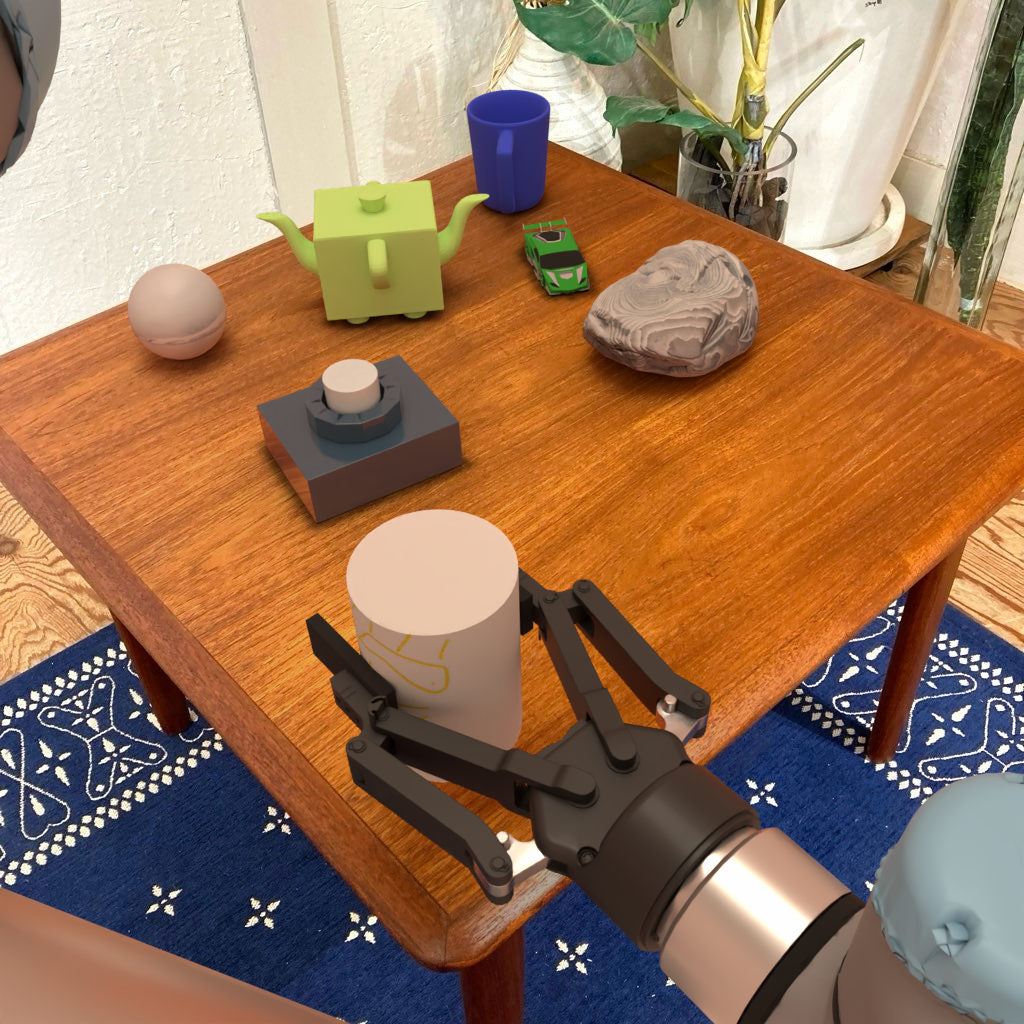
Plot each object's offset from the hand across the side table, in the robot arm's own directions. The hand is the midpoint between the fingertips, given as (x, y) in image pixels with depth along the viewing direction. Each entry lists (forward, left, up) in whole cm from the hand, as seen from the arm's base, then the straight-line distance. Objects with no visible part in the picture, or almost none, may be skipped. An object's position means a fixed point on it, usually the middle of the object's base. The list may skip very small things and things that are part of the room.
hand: (384, 590), depth 57 cm
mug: (+37, +50, -12) cm, 63 cm away
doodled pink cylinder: (+1, -5, -7) cm, 8 cm away
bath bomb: (+1, +44, -12) cm, 46 cm away
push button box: (+8, +23, -11) cm, 27 cm away
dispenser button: (+8, +23, -6) cm, 25 cm away
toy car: (+35, +38, -12) cm, 53 cm away
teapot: (+19, +42, -12) cm, 48 cm away
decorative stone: (+36, +22, -12) cm, 44 cm away
